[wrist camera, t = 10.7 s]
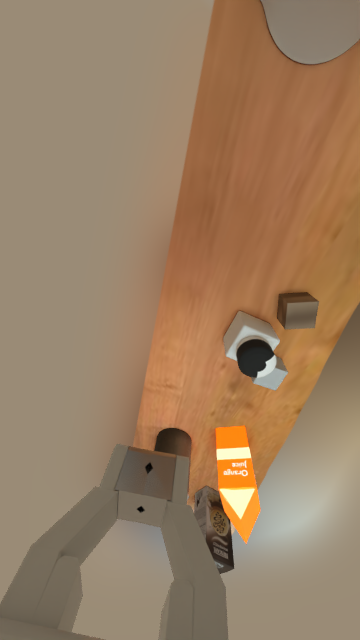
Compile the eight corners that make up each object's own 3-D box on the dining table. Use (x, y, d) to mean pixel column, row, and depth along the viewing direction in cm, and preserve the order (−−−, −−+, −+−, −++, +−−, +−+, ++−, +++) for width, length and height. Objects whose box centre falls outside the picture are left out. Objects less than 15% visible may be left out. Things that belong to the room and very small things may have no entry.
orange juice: (245, 425, 58) (263, 520, 40) (249, 448, 62) (267, 545, 44) (214, 428, 60) (219, 520, 42) (220, 450, 63) (226, 544, 45)
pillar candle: (154, 427, 62) (140, 488, 49) (190, 427, 61) (185, 489, 47) (160, 451, 66) (148, 512, 53) (193, 451, 65) (190, 515, 51)
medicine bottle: (222, 337, 49) (227, 373, 38) (238, 309, 46) (249, 339, 35) (252, 350, 49) (266, 389, 38) (270, 323, 46) (290, 356, 35)
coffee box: (229, 497, 72) (235, 569, 57) (216, 505, 75) (219, 576, 60) (206, 484, 70) (207, 555, 56) (193, 493, 73) (191, 563, 58)
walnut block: (278, 293, 43) (287, 303, 39) (306, 292, 43) (318, 301, 38) (276, 317, 46) (284, 329, 41) (303, 316, 45) (314, 327, 40)
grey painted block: (259, 350, 49) (264, 364, 45) (280, 357, 49) (288, 372, 45) (248, 368, 51) (253, 382, 47) (269, 375, 51) (275, 390, 47)
